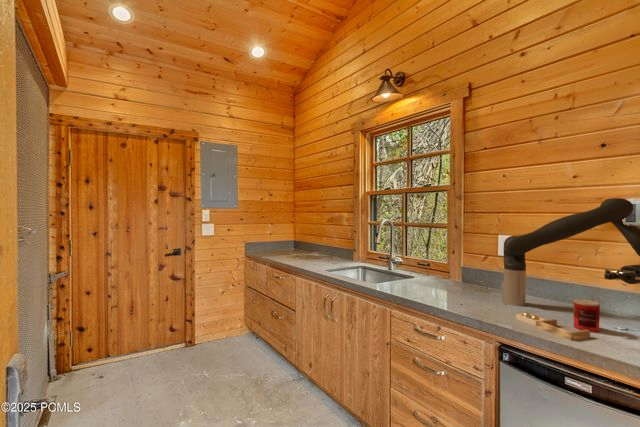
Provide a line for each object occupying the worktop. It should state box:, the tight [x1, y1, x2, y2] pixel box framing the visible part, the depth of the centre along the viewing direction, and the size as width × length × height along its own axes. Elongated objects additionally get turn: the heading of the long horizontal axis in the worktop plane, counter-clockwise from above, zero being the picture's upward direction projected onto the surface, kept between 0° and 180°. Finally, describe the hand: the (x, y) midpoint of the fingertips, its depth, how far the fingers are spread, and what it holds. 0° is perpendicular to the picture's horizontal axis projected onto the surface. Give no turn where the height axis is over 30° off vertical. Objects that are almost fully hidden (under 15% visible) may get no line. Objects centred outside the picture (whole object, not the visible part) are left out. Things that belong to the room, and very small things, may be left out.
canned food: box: [573, 298, 601, 333], centre depth 128 cm, size 8×8×11 cm
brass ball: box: [531, 314, 540, 320], centre depth 134 cm, size 3×3×3 cm
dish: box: [515, 313, 547, 327], centre depth 136 cm, size 9×6×2 cm, turn 17°
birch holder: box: [535, 318, 591, 341], centre depth 124 cm, size 13×9×3 cm
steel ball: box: [523, 311, 532, 319], centre depth 138 cm, size 3×3×3 cm
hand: (607, 276), depth 131 cm, fingers closed
